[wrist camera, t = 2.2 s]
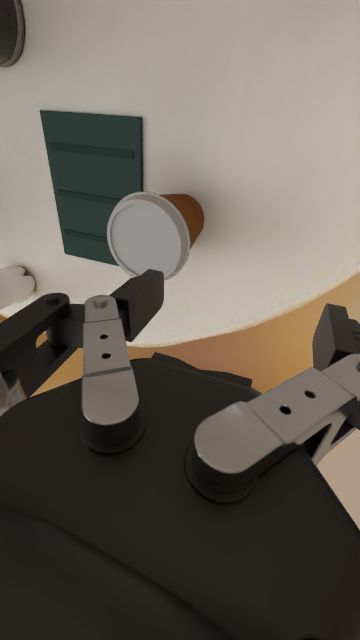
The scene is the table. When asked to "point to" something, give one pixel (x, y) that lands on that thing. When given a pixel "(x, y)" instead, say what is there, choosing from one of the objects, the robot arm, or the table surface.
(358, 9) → the table surface
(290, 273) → the table surface
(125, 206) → the disposable coffee cup
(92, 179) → the mat
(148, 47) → the table surface
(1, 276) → the water bottle
